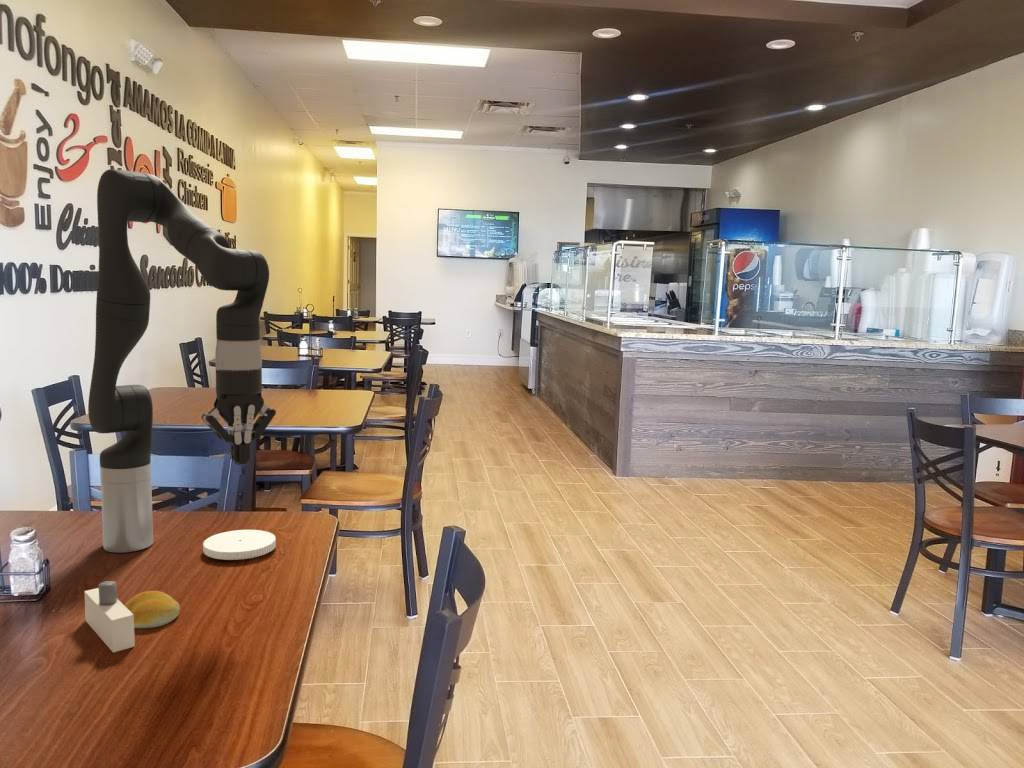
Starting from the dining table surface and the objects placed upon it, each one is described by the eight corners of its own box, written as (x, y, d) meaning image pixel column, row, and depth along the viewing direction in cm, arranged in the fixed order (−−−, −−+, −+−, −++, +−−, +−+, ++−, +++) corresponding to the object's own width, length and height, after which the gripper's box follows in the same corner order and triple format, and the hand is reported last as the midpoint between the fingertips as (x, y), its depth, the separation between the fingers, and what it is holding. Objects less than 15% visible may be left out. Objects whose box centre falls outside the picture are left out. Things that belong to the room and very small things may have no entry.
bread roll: (134, 635, 118) (133, 611, 118) (117, 616, 125) (116, 593, 124) (188, 620, 124) (188, 597, 123) (169, 603, 130) (168, 580, 130)
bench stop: (85, 620, 122) (83, 573, 121) (105, 615, 124) (104, 568, 123) (113, 652, 112) (111, 600, 111) (134, 646, 114) (133, 595, 113)
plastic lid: (273, 538, 165) (273, 527, 164) (278, 560, 152) (277, 548, 151) (204, 544, 160) (203, 532, 159) (202, 567, 147) (202, 555, 146)
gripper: (265, 362, 139) (266, 455, 141) (191, 365, 130) (194, 465, 132) (284, 366, 133) (285, 462, 135) (209, 370, 124) (211, 473, 126)
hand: (240, 463), depth 134 cm, fingers closed
